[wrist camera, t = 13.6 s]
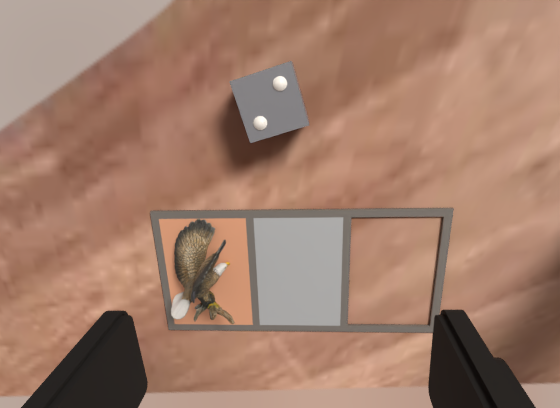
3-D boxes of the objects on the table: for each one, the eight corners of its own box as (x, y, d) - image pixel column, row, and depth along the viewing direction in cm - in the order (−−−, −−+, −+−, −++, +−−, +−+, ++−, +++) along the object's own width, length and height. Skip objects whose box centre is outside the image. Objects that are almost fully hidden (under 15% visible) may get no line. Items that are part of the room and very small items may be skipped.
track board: (452, 207, 36) (453, 208, 36) (435, 330, 41) (436, 332, 41) (151, 210, 38) (150, 211, 38) (169, 328, 43) (168, 329, 43)
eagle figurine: (259, 298, 39) (245, 228, 35) (212, 347, 34) (189, 273, 30) (208, 275, 43) (190, 210, 39) (160, 316, 39) (133, 247, 34)
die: (292, 62, 33) (291, 61, 28) (308, 117, 34) (309, 125, 29) (239, 80, 33) (229, 81, 29) (257, 133, 35) (250, 143, 30)
